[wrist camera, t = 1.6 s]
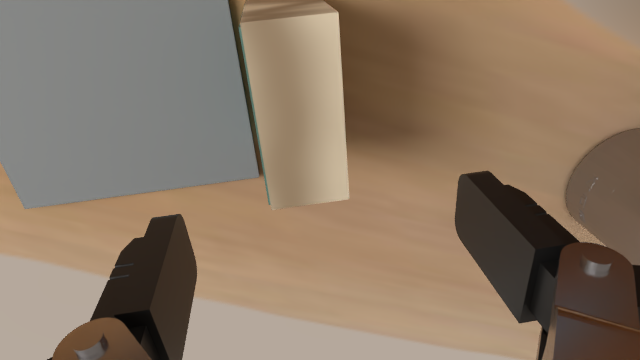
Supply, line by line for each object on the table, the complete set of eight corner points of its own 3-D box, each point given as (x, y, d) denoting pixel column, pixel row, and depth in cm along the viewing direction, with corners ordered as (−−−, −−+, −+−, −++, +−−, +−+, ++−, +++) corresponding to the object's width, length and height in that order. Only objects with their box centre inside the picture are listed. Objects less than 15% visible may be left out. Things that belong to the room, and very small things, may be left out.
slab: (313, -8, 25) (338, 12, 17) (324, 132, 29) (349, 199, 21) (244, -1, 24) (237, 23, 17) (266, 140, 29) (269, 210, 21)
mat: (219, -47, 23) (219, -47, 23) (259, 173, 30) (259, 177, 30) (-85, -18, 22) (-93, -17, 21) (28, 205, 29) (24, 209, 28)
